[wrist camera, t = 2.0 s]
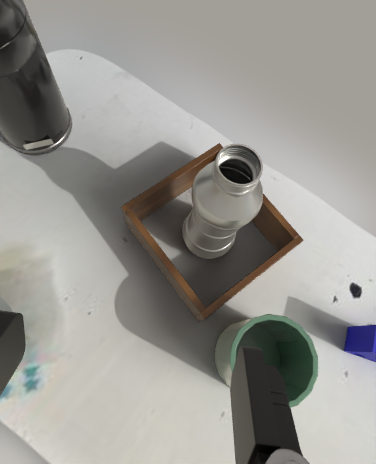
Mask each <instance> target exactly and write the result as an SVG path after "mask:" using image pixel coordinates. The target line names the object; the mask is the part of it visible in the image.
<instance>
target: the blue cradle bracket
mask: <svg viewBox="0 0 376 464" xmlns="http://www.w3.org/2000/svg"><path fill="white" fill-rule="evenodd" d="M344 351H345V352H348V353H351V354H354V355H357V356H360V357H363V358H365V359H368V360H371V361H374V362H376V325H367V326H354V327H348V330H347V336H346V342H345V348H344Z"/></svg>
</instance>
